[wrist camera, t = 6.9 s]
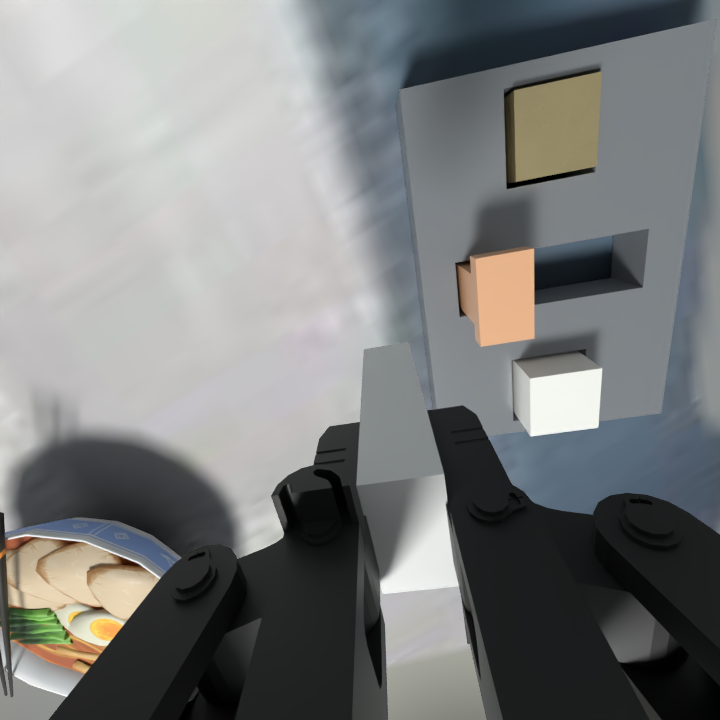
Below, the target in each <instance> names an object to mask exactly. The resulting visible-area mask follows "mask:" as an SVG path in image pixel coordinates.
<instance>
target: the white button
mask: <svg viewBox="0 0 720 720" xmlns="http://www.w3.org/2000/svg"><path fill="white" fill-rule="evenodd" d="M601 381H602V368H601V367H600V366H599V365H597V364H596V363H594V362H593V361H591V360H590V359H589V358H587V357H586V356H584V355H583V354H581V353H580V352H579V351H577V350H576V351H569V352H563V353H556V354H549V355H542V356H536V357H529V358H522V359H516V360H512V391H513V412H514V413H515V414H516V416H517V417H518V419H519V420H520V422H521V423H522V425H523V426H524V427H525V429H526V430H527V432H528V433H529V435H530V436H538V435H545V434H553V433H561V432H569V431H576V430H584V429H592V428H598V424H599V409H600V395H601Z"/></svg>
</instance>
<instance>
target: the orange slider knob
mask: <svg viewBox="0 0 720 720" xmlns="http://www.w3.org/2000/svg"><path fill="white" fill-rule="evenodd" d="M455 267H456V279H457V291H458V304H459V307H460V308H461V309H462V311H463V312H464V313H465V314H466V315H467V316H468V317H469V319H470V320H471V321H472V322H473V323H474V324H475V339H476V341H477V342H478V344H479V345H480V346H481V347H483V346H490V345H496V344H503V343H509V342H516V341H522V340H529V339H535V334H534V248H530V247H526V246H524V247H518V248H513V249H507V250H501V251H496V252H490V253H484V254H479V255H473V256H470V260H468V261H462V262H457V263H455Z"/></svg>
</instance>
